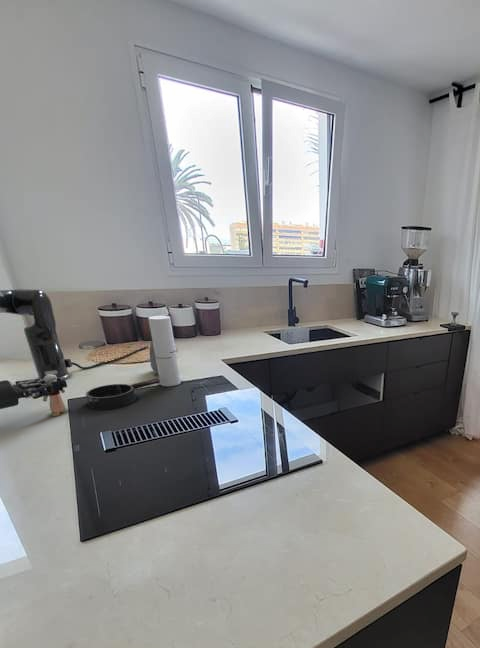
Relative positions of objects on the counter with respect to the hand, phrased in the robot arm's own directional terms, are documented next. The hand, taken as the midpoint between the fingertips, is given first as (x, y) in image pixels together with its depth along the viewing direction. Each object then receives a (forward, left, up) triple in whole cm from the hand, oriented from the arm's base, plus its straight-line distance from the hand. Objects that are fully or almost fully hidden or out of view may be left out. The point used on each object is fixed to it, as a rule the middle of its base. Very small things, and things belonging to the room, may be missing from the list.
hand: (63, 382), depth 122 cm
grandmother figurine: (+2, -2, -9) cm, 10 cm away
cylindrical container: (-24, +24, -10) cm, 35 cm away
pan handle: (-14, +18, -7) cm, 24 cm away
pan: (-6, +10, -9) cm, 15 cm away
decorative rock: (-37, +18, -10) cm, 42 cm away
